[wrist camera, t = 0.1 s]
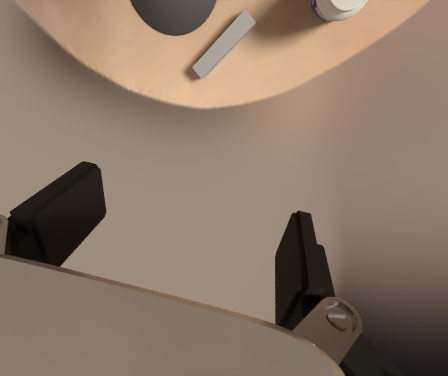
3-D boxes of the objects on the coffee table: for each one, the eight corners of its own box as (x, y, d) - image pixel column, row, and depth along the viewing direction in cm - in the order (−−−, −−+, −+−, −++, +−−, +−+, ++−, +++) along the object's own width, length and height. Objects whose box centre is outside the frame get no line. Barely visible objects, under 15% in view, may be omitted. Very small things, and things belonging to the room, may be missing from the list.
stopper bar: (247, 9, 33) (245, 8, 31) (257, 22, 33) (255, 22, 31) (196, 65, 38) (192, 67, 35) (205, 76, 38) (201, 79, 36)
